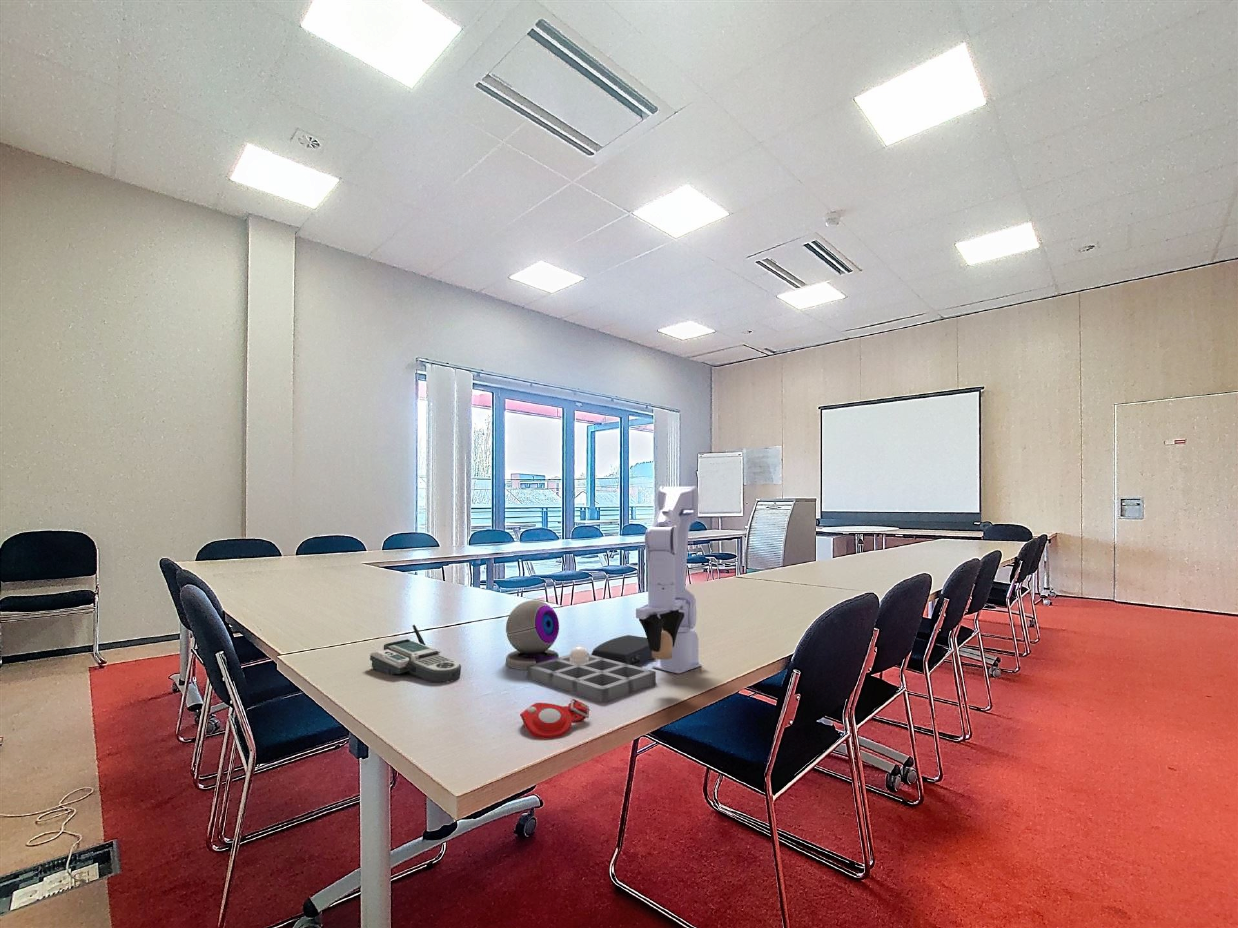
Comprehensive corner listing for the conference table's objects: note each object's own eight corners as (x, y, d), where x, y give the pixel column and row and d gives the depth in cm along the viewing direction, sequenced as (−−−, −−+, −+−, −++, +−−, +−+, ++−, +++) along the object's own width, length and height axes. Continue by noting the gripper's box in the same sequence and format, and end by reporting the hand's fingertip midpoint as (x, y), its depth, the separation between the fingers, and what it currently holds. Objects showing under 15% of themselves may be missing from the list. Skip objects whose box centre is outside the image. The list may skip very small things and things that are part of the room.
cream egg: (579, 666, 139) (579, 643, 139) (592, 669, 136) (592, 646, 136) (565, 670, 136) (566, 646, 136) (578, 674, 133) (578, 650, 133)
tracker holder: (554, 738, 95) (509, 712, 100) (552, 760, 96) (508, 734, 101) (596, 700, 105) (553, 678, 110) (594, 721, 106) (552, 698, 111)
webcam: (536, 672, 134) (536, 607, 135) (494, 664, 140) (495, 602, 141) (568, 659, 145) (568, 598, 146) (528, 652, 151) (528, 594, 152)
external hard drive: (585, 664, 142) (585, 647, 142) (625, 647, 158) (625, 632, 159) (631, 672, 135) (630, 654, 135) (668, 653, 152) (668, 637, 152)
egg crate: (526, 677, 130) (526, 665, 130) (579, 662, 142) (580, 651, 142) (602, 702, 114) (602, 689, 114) (655, 683, 126) (655, 671, 126)
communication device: (427, 691, 122) (428, 649, 123) (367, 670, 137) (368, 632, 137) (472, 677, 132) (473, 638, 132) (412, 658, 146) (413, 623, 147)
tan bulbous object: (660, 652, 125) (660, 627, 125) (676, 656, 122) (676, 630, 122) (647, 656, 122) (647, 630, 122) (663, 660, 118) (663, 633, 119)
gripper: (654, 589, 115) (654, 658, 114) (697, 581, 125) (697, 645, 124) (628, 585, 119) (628, 652, 118) (671, 578, 130) (671, 639, 129)
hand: (662, 648), depth 122 cm, fingers closed on tan bulbous object, 4 cm apart
